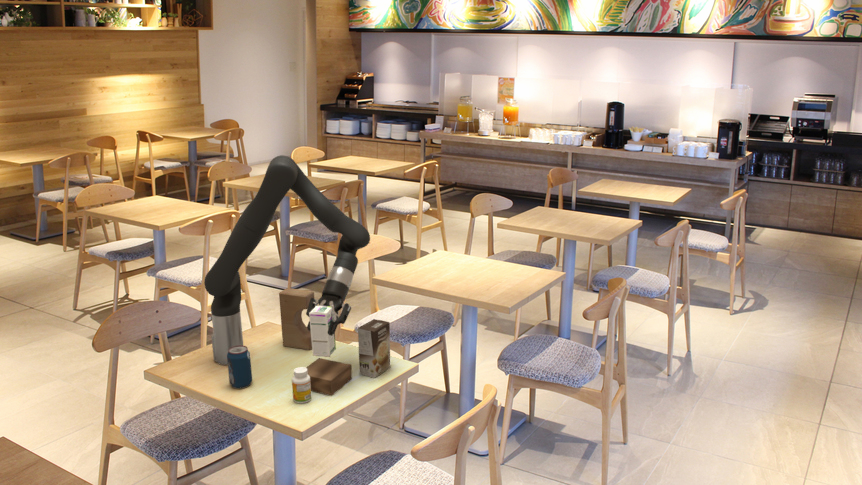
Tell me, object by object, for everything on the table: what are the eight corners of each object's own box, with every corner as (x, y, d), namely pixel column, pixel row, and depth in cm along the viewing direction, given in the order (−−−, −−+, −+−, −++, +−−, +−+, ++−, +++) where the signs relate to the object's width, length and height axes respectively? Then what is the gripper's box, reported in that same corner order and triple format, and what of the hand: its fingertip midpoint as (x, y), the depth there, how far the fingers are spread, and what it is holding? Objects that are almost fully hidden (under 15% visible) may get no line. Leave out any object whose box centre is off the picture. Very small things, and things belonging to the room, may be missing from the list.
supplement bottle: (294, 395, 219) (292, 366, 216) (312, 394, 219) (310, 365, 216) (292, 404, 213) (290, 374, 211) (310, 403, 214) (309, 373, 211)
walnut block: (298, 388, 223) (297, 373, 222) (319, 372, 233) (319, 357, 232) (331, 395, 218) (330, 380, 217) (351, 378, 229) (351, 364, 227)
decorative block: (317, 344, 254) (314, 291, 249) (309, 350, 249) (306, 296, 244) (290, 340, 258) (287, 287, 253) (282, 346, 253) (278, 292, 248)
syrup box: (330, 357, 220) (327, 313, 216) (311, 356, 221) (308, 311, 217) (336, 349, 225) (333, 306, 221) (318, 348, 226) (315, 304, 222)
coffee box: (375, 378, 229) (373, 331, 224) (359, 374, 232) (357, 327, 227) (391, 367, 236) (390, 321, 232) (375, 363, 239) (373, 318, 235)
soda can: (256, 380, 229) (253, 345, 225) (246, 390, 222) (243, 354, 219) (236, 378, 230) (232, 343, 227) (225, 388, 223) (222, 353, 220)
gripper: (313, 275, 226) (294, 324, 219) (353, 281, 220) (334, 331, 214) (323, 286, 232) (305, 333, 226) (362, 292, 227) (345, 341, 220)
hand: (319, 332), depth 220 cm, fingers closed on syrup box, 6 cm apart
